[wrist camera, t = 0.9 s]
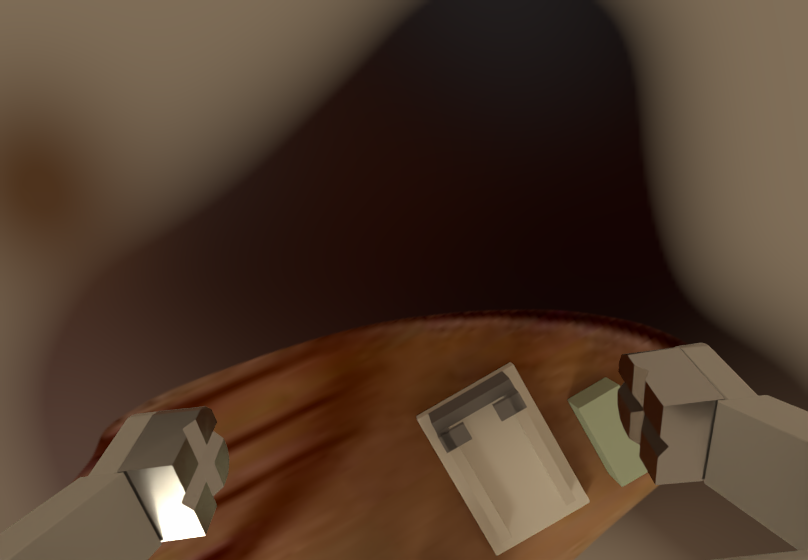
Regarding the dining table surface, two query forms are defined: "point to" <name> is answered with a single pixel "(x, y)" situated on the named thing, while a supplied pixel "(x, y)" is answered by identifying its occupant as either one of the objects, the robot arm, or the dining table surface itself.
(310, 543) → the dining table surface
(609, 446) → the green block
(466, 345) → the dining table surface
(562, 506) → the beige shallow tray
